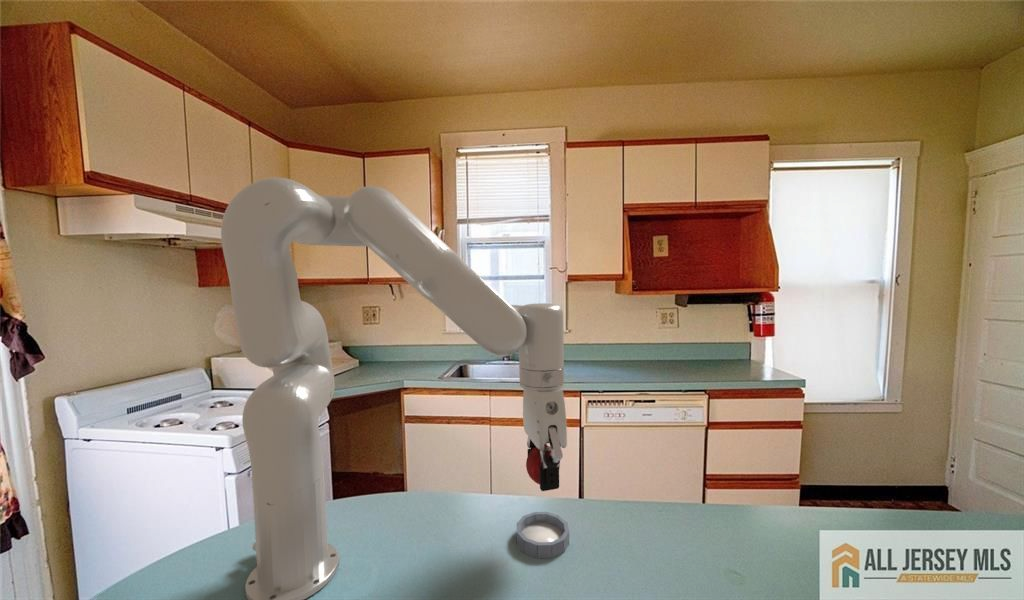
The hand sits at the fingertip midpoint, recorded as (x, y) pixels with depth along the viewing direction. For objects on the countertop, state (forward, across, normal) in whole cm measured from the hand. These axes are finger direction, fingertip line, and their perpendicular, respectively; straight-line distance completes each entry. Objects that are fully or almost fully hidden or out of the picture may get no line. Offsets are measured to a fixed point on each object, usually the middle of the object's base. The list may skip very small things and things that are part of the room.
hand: (542, 478), depth 68 cm
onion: (+2, 0, 0) cm, 2 cm away
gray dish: (+11, 0, 0) cm, 11 cm away
